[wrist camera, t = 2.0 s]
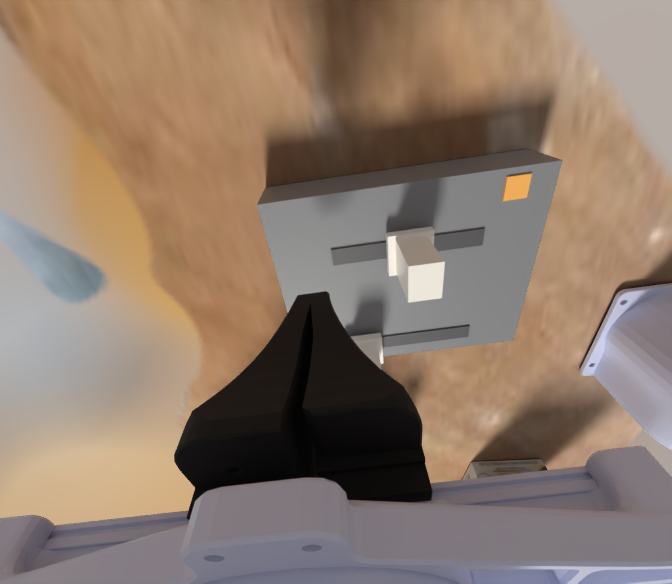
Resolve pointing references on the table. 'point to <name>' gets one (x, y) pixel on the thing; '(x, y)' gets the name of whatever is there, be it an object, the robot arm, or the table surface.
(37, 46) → the table surface
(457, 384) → the table surface
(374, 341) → the on handle
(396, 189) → the slider control panel
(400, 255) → the handle
